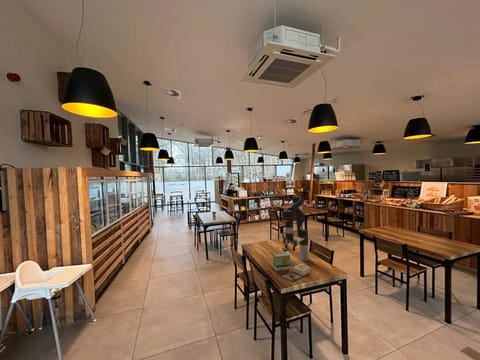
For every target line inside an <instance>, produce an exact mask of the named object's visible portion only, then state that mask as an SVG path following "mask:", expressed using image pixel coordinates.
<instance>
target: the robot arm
mask: <svg viewBox="0 0 480 360" xmlns="http://www.w3.org/2000/svg"><path fill="white" fill-rule="evenodd" d="M291 200H292V204H290V205H289V206H288V207H287V208H285V209H284V210H283V211H282V213H281V215H282V217H283V218H284V219H288V220H285V221H284V234H285V235H284V237H282V243H283V244H284V246H285V247H284V248H285V249H286V250H287V249H288V244H290V245H291V247H292V251H293V252H295V251H296V247H297V246H298V240H297V239H294V236H295V235H294V218H295V223H296V232H297V237H298V238H300V239H301V238H302V239H301V240H299V246H298V247H299V250H298V254H299V255H298V257H299V260H300V261H302V262H303V261H304V262H307V261H309V260H310V255H309V238H308V237H309V233H308V229H301V227H302V225H303V224H304V222H305V215H304V212H303V211H302V210H301V208H300V207H301V206H303V205H304V202H305V198H304V196H302V195H294V196H292V199H291Z"/></svg>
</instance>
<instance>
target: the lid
mask: <svg viewBox="0 0 480 360" xmlns="http://www.w3.org/2000/svg"><path fill="white" fill-rule="evenodd" d="M288 270H289V271H288V272H287V273H285V274H283V275H281V276H282V277H283V278H285V279H287V280H290V281H292V282H293V281H295V280H297V279H299V278H301V276H302V275H300V274H297V273H295V272H293V268H290V269H288ZM283 278H282V279H283ZM285 279H284V280H285ZM301 279H302V278H301ZM287 280H286V281H287ZM299 280H300V279H299ZM290 281H289V282H290ZM292 282H291V283H292Z"/></svg>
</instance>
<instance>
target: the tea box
mask: <svg viewBox="0 0 480 360" xmlns="http://www.w3.org/2000/svg"><path fill="white" fill-rule="evenodd" d="M272 268H273V269H274V270H275V271H276V272H278V271H285V270H289V269H291V255H290V254H289V253H288V252H287V251H284V252H283V251H282V252H273V253H272Z"/></svg>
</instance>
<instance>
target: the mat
mask: <svg viewBox="0 0 480 360" xmlns="http://www.w3.org/2000/svg"><path fill="white" fill-rule="evenodd" d="M282 276H283V275H281V276H280V278H282V279H284V280H285V281H288V282H290V283H292V284H293V283H296V282H297V281H299V280H301V279H302V278H304V276H302V275H300V276H301V278H299V279H297V280H295V281H293V282H292V281H290V280H287V279H285V278H283V277H282Z"/></svg>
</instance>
